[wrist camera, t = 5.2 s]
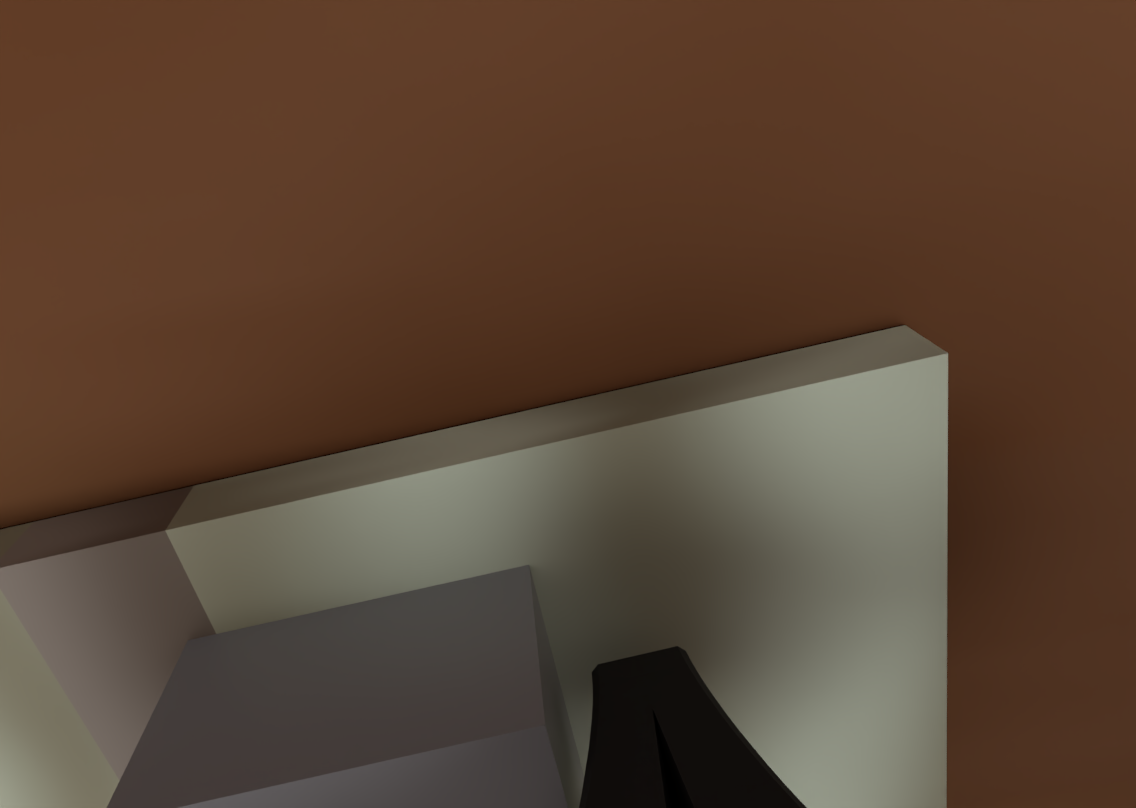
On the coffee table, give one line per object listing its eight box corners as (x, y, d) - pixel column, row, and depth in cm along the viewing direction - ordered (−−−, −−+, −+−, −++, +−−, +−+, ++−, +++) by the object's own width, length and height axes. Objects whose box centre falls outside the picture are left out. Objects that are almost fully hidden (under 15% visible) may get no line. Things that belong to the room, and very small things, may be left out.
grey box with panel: (529, 564, 12) (545, 736, 9) (584, 776, 13) (612, 974, 11) (187, 640, 11) (91, 837, 9) (290, 842, 13) (239, 1061, 10)
